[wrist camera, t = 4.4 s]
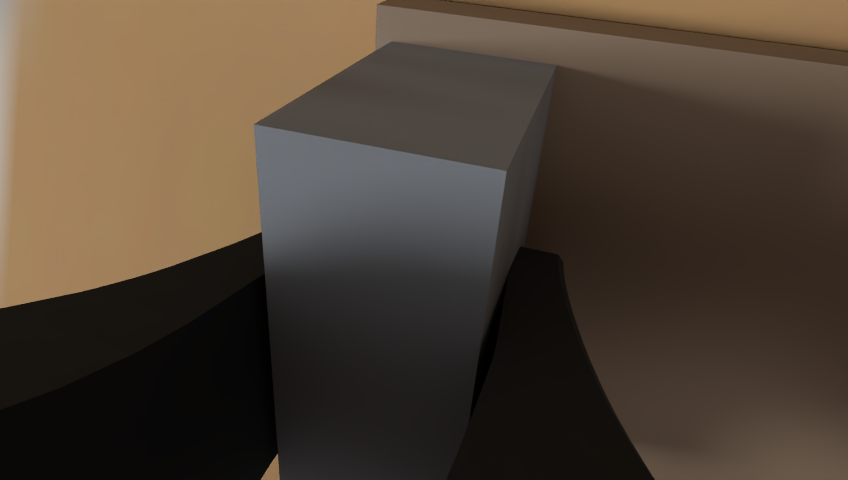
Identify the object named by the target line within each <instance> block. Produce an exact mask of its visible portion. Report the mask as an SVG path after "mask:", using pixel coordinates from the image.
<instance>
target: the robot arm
mask: <svg viewBox="0 0 848 480" xmlns="http://www.w3.org/2000/svg"><path fill="white" fill-rule="evenodd" d="M277 453H278V447H277V433H276V419H275V406H274V392H273V378H272V364H271V351H270V337H269V323H268V310H267V296H266V282H265V269H264V255H263V241H262V232H261V233H259V234H256V235H254V236H251V237H249V238H246V239H244V240H241V241H239V242H237V243H234V244H232V245H229V246H226V247H224V248H221V249H218V250H215V251H212V252H210V253H207V254H204V255H201V256H199V257H196V258H193V259H190V260H188V261H185V262H182V263H179V264H176V265H174V266H171V267H168V268H165V269H162V270H159V271H156V272H152V273H149V274H146V275H142V276H139V277H136V278H132V279H129V280H125V281H121V282H118V283H114V284H110V285H106V286H103V287H99V288H95V289H91V290H87V291H83V292H79V293H74V294H69V295H64V296H59V297H55V298H50V299H45V300H40V301H35V302H30V303H26V304H21V305H16V306H11V307H6V308H1V309H0V480H261V478H262V477H263V475H264V473H265V472H266V470H267V468H268V467H269V465H270V464H271V462H272V461H273V459H274V458H275V456H276V455H277ZM446 480H655V479H654V477H653V476H652V474H651V473H650V471H649V469H648V468H647V466H646V465H645V463H644V461H643V460H642V458H641V457H640V455H639V453H638V452H637V450H636V448H635V447H634V445H633V444H632V442H631V440H630V439H629V437H628V435H627V433H626V431H625V430H624V428H623V426H622V424H621V423H620V421H619V419H618V417H617V415H616V414H615V412H614V410H613V408H612V406H611V404H610V402H609V400H608V398H607V396H606V394H605V392H604V390H603V388H602V386H601V383H600V381H599V379H598V377H597V374H596V372H595V370H594V368H593V365H592V363H591V361H590V359H589V356H588V353H587V351H586V348H585V346H584V343H583V341H582V338H581V335H580V332H579V329H578V326H577V323H576V320H575V317H574V314H573V311H572V308H571V304H570V300H569V296H568V292H567V288H566V283H565V277H564V262H563V261H562V259H561V258H560V256H559V255H558V254H554V253H549V252H545V251H540V250H535V249H531V248H526V247H521V246H520V248H519V250H518V252H517V254H516V256H515V258H514V260H513V262H512V264H511V267H510V269H509V272H508V278H507V283H506V289H505V295H504V301H503V307H502V312H501V318H500V324H499V330H498V336H497V342H496V347H495V351H494V355H493V359H492V362H491V365H490V368H489V371H488V373H487V376H486V379H485V382H484V384H483V387H482V390H481V393H480V395H479V398H478V401H477V404H476V406H475V409H474V411H473V414H472V417H471V419H470V422H469V424H468V427H467V430H466V432H465V435H464V437H463V440H462V443H461V445H460V448H459V450H458V453H457V455H456V458H455V460H454V462H453V465H452V467H451V470H450V472H449V475H448V477H447V479H446Z"/></svg>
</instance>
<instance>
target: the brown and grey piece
mask: <svg viewBox="0 0 848 480" xmlns="http://www.w3.org/2000/svg"><path fill="white" fill-rule="evenodd" d="M254 132H255V145H256V159H257V173H258V186H259V200H260V214H261V228H262V241H263V255H264V269H265V282H266V296H267V310H268V323H269V337H270V351H271V364H272V378H273V392H274V406H275V419H276V433H277V447H278V460H279V474H280V480H446V479H447V477H448V475H449V472H450V470H451V467H452V465H453V462H454V460H455V458H456V455H457V453H458V450H459V448H460V445H461V443H462V440H463V437H464V435H465V432H466V430H467V427H468V424H469V422H470V419H471V417H472V414H473V411H474V409H475V406H476V404H477V401H478V398H479V395H480V393H481V390H482V387H483V384H484V382H485V379H486V376H487V373H488V371H489V368H490V365H491V362H492V359H493V355H494V351H495V347H496V342H497V336H498V330H499V324H500V318H501V312H502V307H503V301H504V295H505V289H506V283H507V278H508V272H509V269H510V267H511V264H512V262H513V260H514V258H515V256H516V254H517V252H518V250H519V248H520V246H521V247H526V248H531V249H535V250H540V251H545V252H549V253H554V254H558V255H559V256H560V258H561V259H562V261H563V262H564V277H565V283H566V288H567V292H568V296H569V300H570V304H571V308H572V311H573V314H574V317H575V320H576V323H577V326H578V329H579V332H580V335H581V338H582V341H583V343H584V346H585V348H586V351H587V353H588V356H589V359H590V361H591V363H592V365H593V368H594V370H595V372H596V374H597V377H598V379H599V381H600V383H601V386H602V388H603V390H604V392H605V394H606V396H607V398H608V400H609V402H610V404H611V406H612V408H613V410H614V412H615V414H616V415H617V417H618V419H619V421H620V423H621V424H622V426H623V428H624V430H625V431H626V433H627V435H628V437H629V439H630V440H631V442H632V444H633V445H634V447H635V448H636V450H637V452H638V453H639V455H640V457H641V458H642V460H643V461H644V463H645V465H646V466H647V468H648V469H649V471H650V473H651V474H652V476H653V477H654V479H655V480H848V52H843V51H836V50H828V49H820V48H812V47H804V46H796V45H788V44H781V43H773V42H765V41H757V40H749V39H741V38H733V37H725V36H718V35H710V34H702V33H694V32H686V31H678V30H670V29H663V28H655V27H647V26H639V25H631V24H623V23H615V22H608V21H600V20H592V19H584V18H576V17H568V16H560V15H552V14H545V13H537V12H529V11H521V10H513V9H505V8H497V7H490V6H482V5H474V4H466V3H458V2H450V1H442V0H386V1H384V2H381V3H379V4H377V19H376V51H374V52H373V53H371V54H370V55H368V56H366V57H365V58H363V59H361V60H360V61H358V62H356V63H355V64H353V65H351V66H350V67H348V68H346V69H345V70H343V71H341V72H340V73H338V74H336V75H335V76H333V77H331V78H330V79H328V80H327V81H325V82H323V83H322V84H320V85H318V86H317V87H315V88H313V89H312V90H310V91H308V92H307V93H305V94H303V95H302V96H300V97H298V98H297V99H295V100H293V101H292V102H290V103H288V104H287V105H285V106H284V107H282V108H280V109H279V110H277V111H275V112H274V113H272V114H270V115H269V116H267V117H265V118H264V119H262V120H260V121H259V122H257V123H255V124H254Z"/></svg>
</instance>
